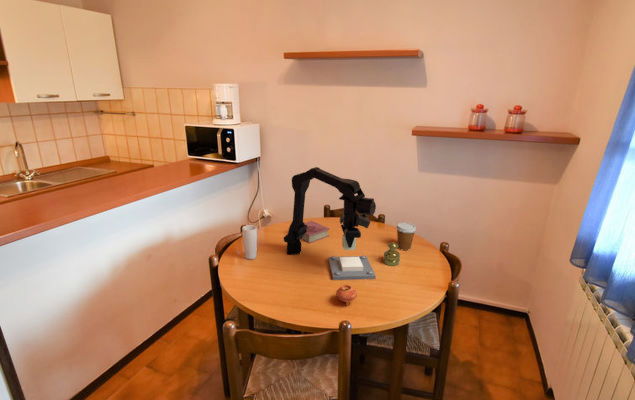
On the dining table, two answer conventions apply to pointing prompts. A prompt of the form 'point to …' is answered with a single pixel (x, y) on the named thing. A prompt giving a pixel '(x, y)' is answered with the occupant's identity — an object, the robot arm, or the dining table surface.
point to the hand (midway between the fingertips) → (349, 244)
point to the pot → (346, 293)
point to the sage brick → (345, 245)
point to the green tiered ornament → (392, 255)
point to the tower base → (351, 273)
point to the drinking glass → (250, 241)
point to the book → (314, 232)
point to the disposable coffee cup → (405, 235)
